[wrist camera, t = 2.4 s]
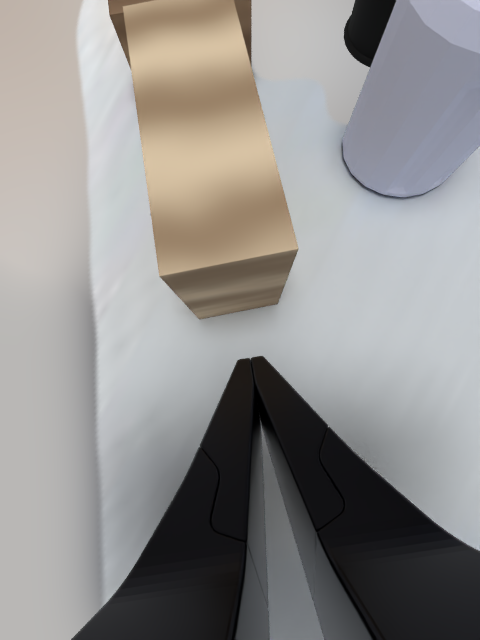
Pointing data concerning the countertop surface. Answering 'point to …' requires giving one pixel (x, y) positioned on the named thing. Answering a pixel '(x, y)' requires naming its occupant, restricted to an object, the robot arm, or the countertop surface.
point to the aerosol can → (367, 28)
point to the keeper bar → (207, 158)
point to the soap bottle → (418, 99)
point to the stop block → (116, 3)
